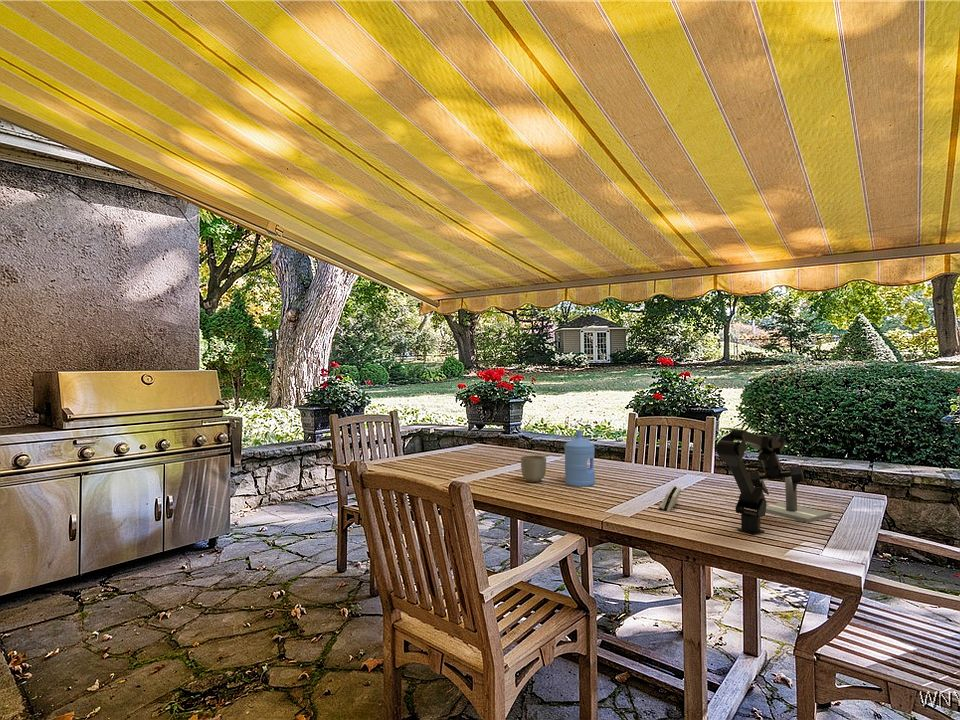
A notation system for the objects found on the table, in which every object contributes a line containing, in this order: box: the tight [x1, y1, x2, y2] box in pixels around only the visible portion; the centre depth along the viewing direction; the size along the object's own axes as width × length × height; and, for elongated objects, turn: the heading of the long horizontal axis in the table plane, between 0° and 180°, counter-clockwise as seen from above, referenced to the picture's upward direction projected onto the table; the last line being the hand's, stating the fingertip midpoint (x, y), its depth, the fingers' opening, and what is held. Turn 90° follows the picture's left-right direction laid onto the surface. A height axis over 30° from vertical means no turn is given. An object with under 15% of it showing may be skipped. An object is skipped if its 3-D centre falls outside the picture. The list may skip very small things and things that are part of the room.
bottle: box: [784, 477, 798, 512], centre depth 212 cm, size 4×4×14 cm
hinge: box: [657, 485, 682, 512], centre depth 226 cm, size 17×5×10 cm, turn 149°
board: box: [765, 501, 832, 524], centre depth 213 cm, size 16×20×2 cm
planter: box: [520, 454, 547, 483], centre depth 281 cm, size 14×14×13 cm
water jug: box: [564, 429, 596, 487], centre depth 274 cm, size 16×16×28 cm
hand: (781, 492), depth 206 cm, fingers open, 9 cm apart
